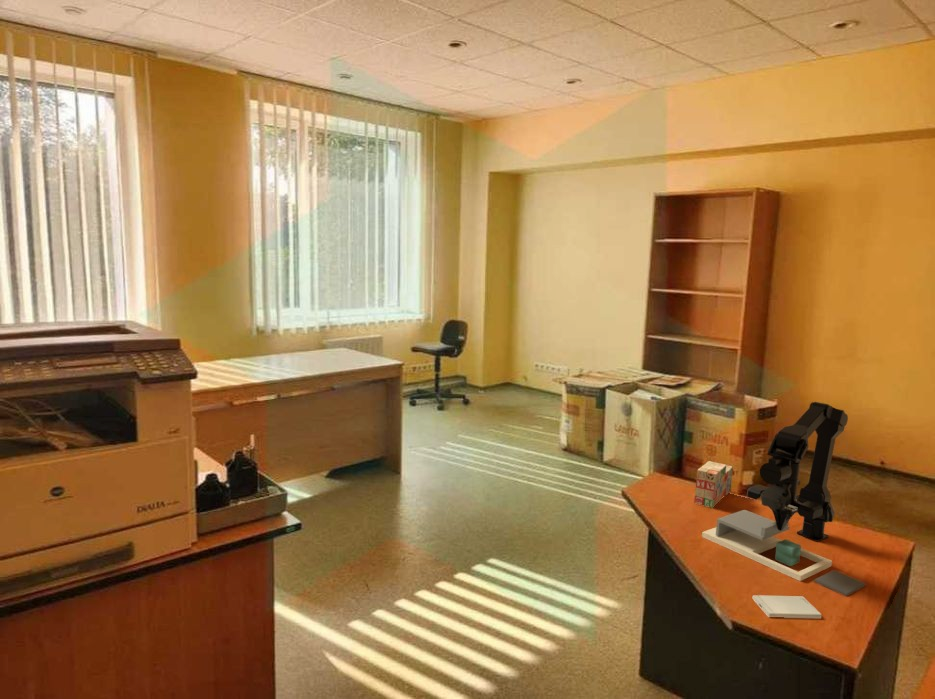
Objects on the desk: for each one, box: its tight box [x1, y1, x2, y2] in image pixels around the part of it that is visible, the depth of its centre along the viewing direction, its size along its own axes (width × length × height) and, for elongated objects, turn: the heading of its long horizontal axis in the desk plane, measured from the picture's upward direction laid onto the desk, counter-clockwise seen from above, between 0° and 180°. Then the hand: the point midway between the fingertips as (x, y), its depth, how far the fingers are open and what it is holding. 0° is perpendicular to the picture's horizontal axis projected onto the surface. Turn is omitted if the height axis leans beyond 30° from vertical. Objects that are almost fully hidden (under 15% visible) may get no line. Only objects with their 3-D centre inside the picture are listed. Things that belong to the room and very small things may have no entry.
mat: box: [813, 569, 867, 597], centre depth 163 cm, size 10×8×1 cm
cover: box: [715, 509, 790, 540], centre depth 182 cm, size 14×14×8 cm
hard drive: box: [751, 594, 822, 620], centre depth 150 cm, size 2×8×12 cm
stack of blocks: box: [693, 460, 734, 509], centre depth 218 cm, size 21×6×12 cm, turn 142°
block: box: [774, 539, 802, 567], centre depth 174 cm, size 4×4×5 cm
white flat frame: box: [701, 526, 833, 582], centre depth 179 cm, size 16×30×2 cm, turn 34°
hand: (780, 530), depth 175 cm, fingers closed
